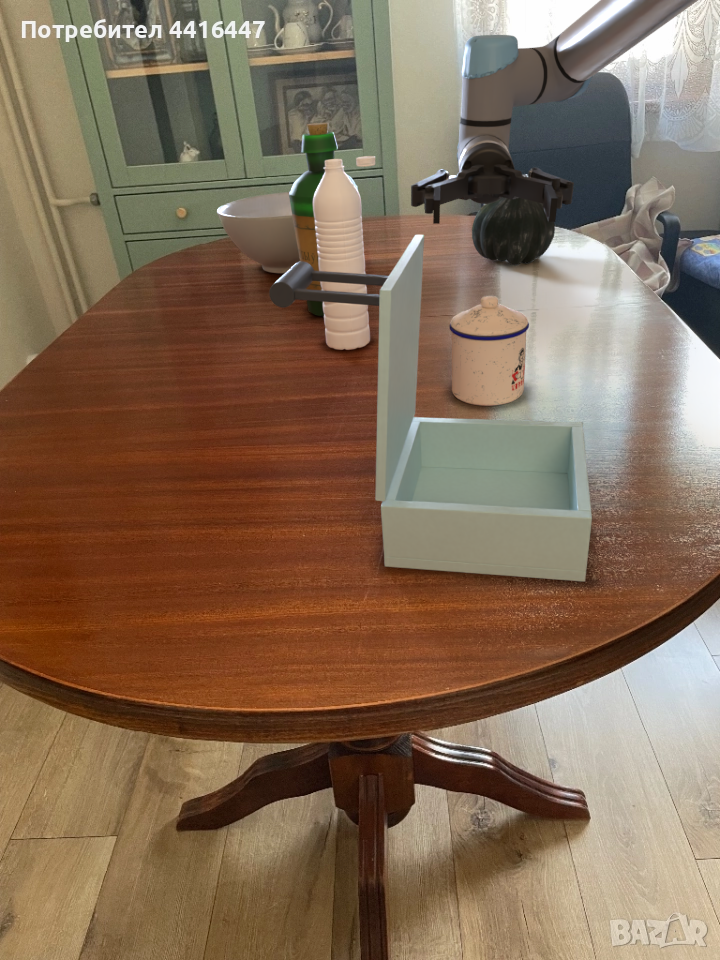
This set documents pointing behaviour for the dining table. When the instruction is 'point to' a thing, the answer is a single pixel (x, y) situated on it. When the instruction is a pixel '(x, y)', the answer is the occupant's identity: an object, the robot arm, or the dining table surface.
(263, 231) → the decorative bowl
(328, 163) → the water bottle
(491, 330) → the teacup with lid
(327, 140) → the bottle
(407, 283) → the lid
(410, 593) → the dining table surface
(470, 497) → the pale green box base
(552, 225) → the squash
